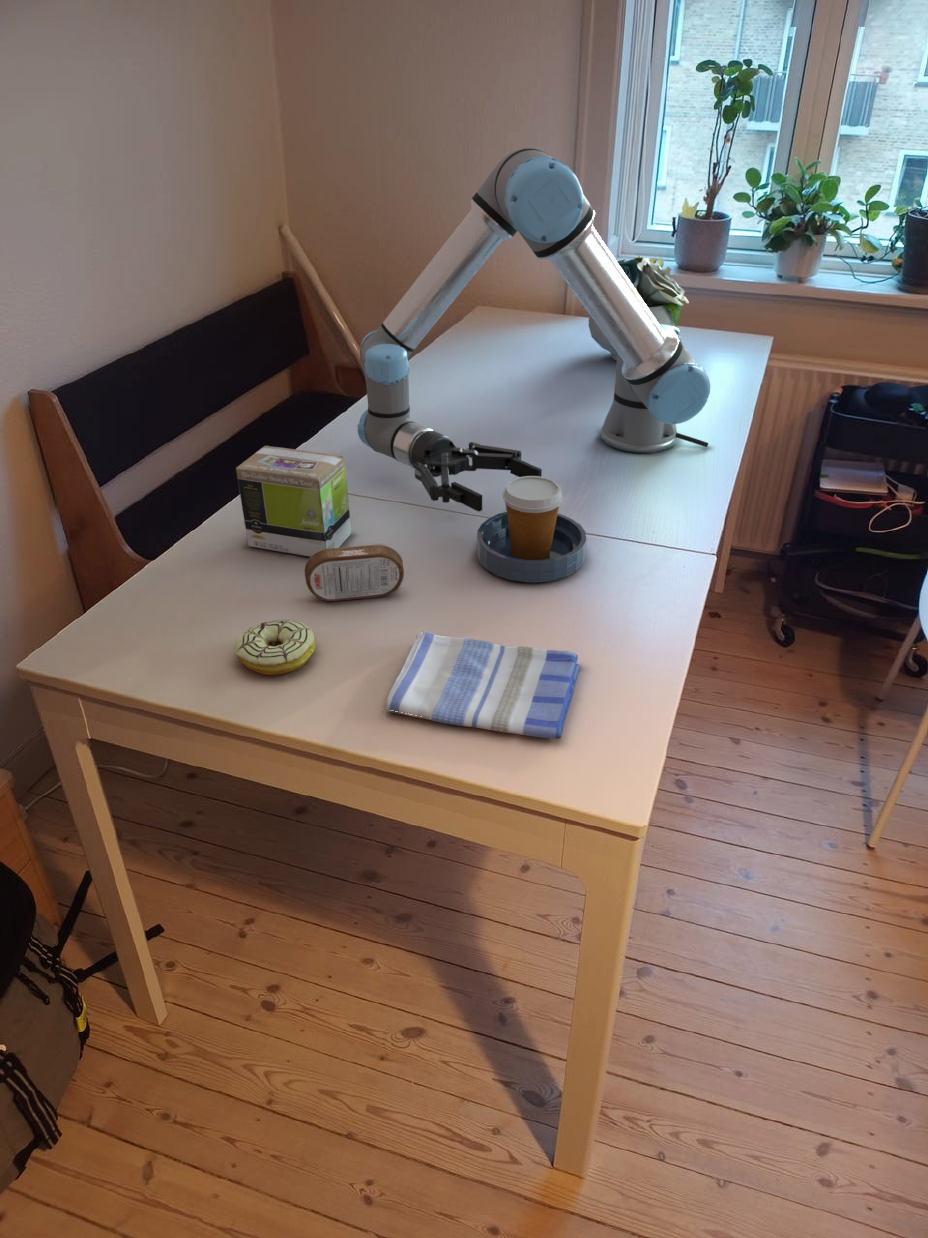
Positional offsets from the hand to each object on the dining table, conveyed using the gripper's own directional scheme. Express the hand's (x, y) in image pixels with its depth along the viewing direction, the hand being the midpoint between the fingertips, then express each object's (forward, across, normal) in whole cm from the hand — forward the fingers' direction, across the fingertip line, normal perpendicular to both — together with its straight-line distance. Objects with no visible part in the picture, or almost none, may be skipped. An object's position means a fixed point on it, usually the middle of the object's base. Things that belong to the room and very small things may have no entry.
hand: (511, 490), depth 152 cm
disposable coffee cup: (+5, 0, -10) cm, 11 cm away
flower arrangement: (-46, -88, -10) cm, 100 cm away
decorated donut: (0, +46, -10) cm, 47 cm away
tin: (-5, +28, -10) cm, 31 cm away
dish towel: (+25, +30, -10) cm, 40 cm away
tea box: (-26, +25, -10) cm, 37 cm away
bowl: (+5, 0, -10) cm, 11 cm away
